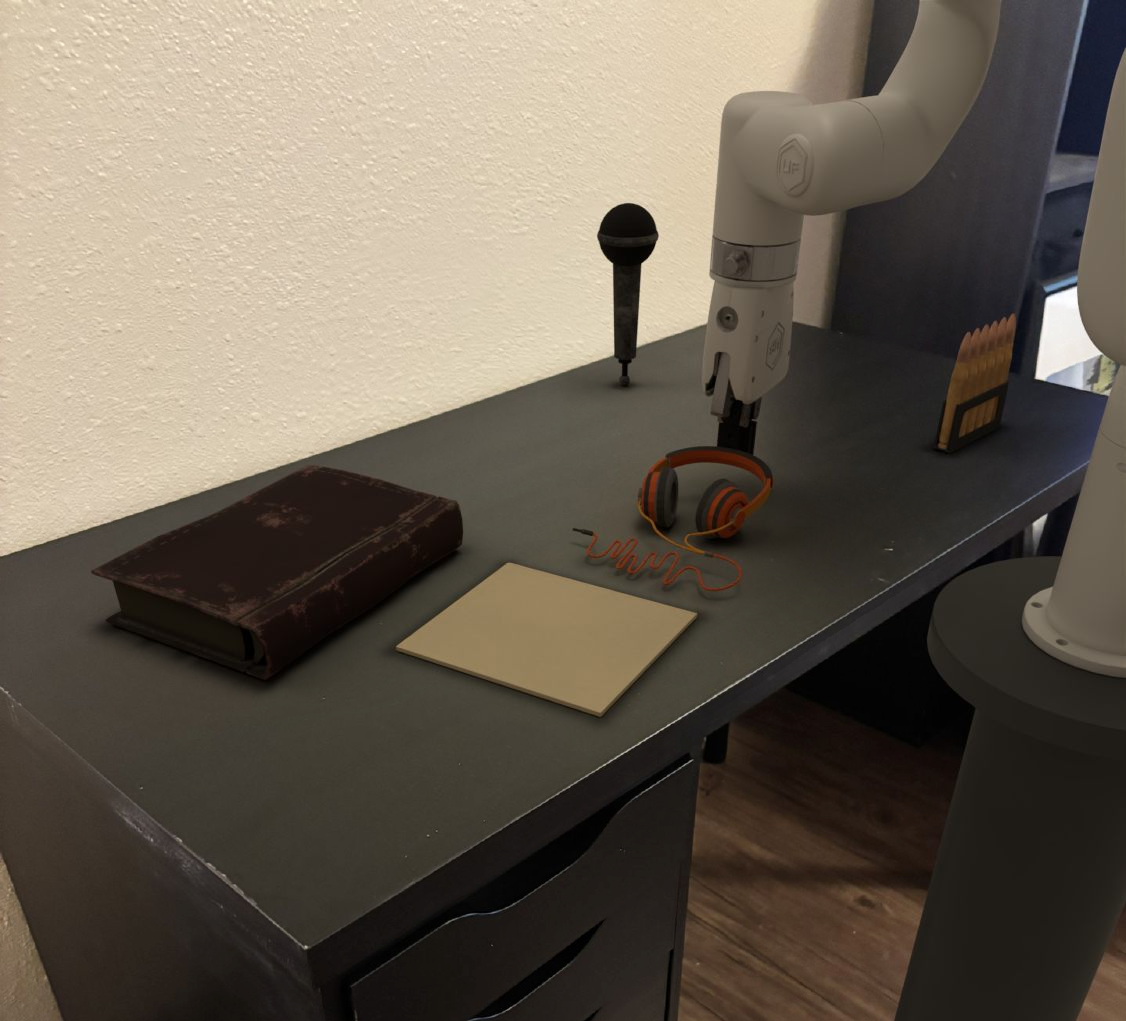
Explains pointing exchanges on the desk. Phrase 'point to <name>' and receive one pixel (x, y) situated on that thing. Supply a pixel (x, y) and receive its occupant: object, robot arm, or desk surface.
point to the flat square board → (550, 637)
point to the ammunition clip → (977, 386)
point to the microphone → (627, 272)
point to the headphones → (715, 510)
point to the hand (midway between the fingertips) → (734, 460)
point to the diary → (281, 566)
